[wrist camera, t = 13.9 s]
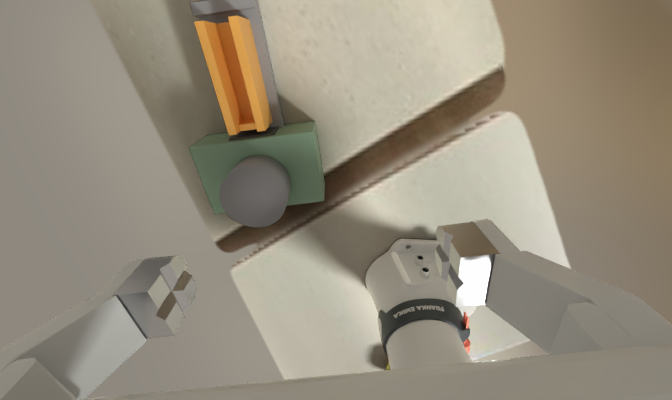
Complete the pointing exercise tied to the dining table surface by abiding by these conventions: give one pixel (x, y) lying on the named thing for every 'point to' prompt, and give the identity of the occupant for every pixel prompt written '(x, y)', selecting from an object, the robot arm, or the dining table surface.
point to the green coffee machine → (257, 145)
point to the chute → (235, 73)
